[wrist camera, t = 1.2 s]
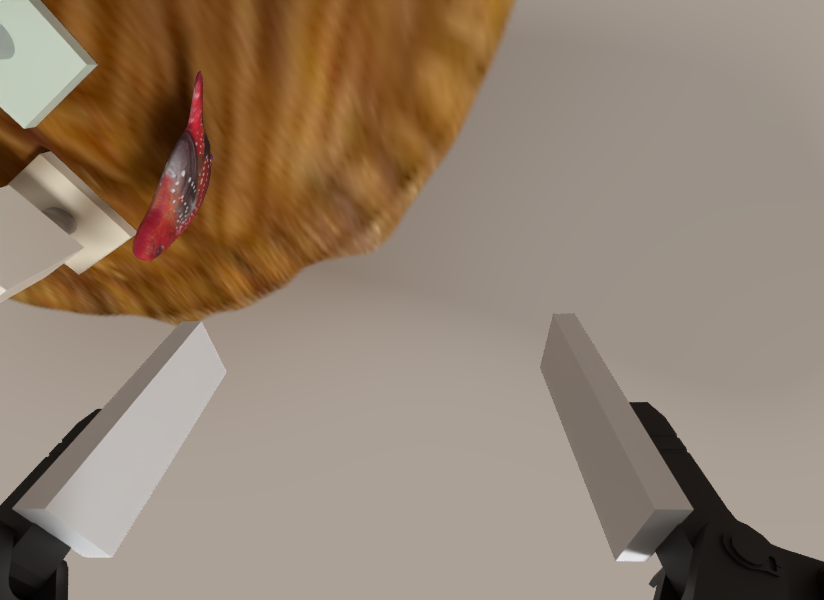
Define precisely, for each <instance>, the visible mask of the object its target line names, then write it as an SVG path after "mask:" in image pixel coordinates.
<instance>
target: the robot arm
mask: <svg viewBox="0 0 824 600" xmlns="http://www.w3.org/2000/svg"><path fill="white" fill-rule="evenodd" d="M540 368H541V371H542V374H543V376H544V379H545V381H546V383H547V386H548V389H549V391H550V394H551V397H552V399H553V402H554V404H555V407H556V409H557V412H558V415H559V417H560V420H561V422H562V425H563V427H564V430H565V432H566V435H567V438H568V440H569V443H570V445H571V448H572V451H573V453H574V456H575V458H576V461H577V463H578V466H579V468H580V471H581V473H582V476H583V479H584V481H585V484H586V486H587V489H588V491H589V494H590V497H591V499H592V502H593V504H594V507H595V509H596V512H597V515H598V517H599V520H600V522H601V525H602V528H603V530H604V533H605V535H606V538H607V540H608V543H609V545H610V548H611V551H612V553H613V556H614V558H615V561H647V560H648V559H649V558H650V557H651V556H652V555H653V554H654V553H655V552H656V554H657V556H658V558H659V560H660V562H661V564H662V566H663V568H662V569H661V570H660V571H659V572H658V573H657V574H656V575H655V576H654V577H653V578H652V580H651V581H650V583H649V585H651V586H652V587H655V586H656V585H657V587H656V591H655V595H654V599H653V600H824V562H823V561H820V560H816V559H814V558H810V557H807V556H804V555H801V554H798V553H795V552H791V551H788V550H785V549H782V548H780V547H777V546H774V545H772V544H770V542H769V541H768V540H767V539H766V538H765V537H764V536H763V535H761V534H760V533H758V532H757V531H755V530H754V529H753V528H751V527H750V526H748V525H746V524H744V523H741V522H739V521H738V520H737V519H735V517H734V516H733V515H732V514H731V512H730V511H729V510H728V509H727V507H726V506H725V504H724V503H723V501H722V500H721V498H720V497H719V496H718V494H717V493H716V491H715V490H714V488H713V487H712V485H711V484H710V482H709V481H708V479H707V478H706V477H705V475H704V474H703V472H702V471H701V469H700V468H699V466H698V465H697V464H696V462H695V460H694V459H693V458H692V456H691V455H690V453H688V452H687V449H686V447H685V446H684V445H683V443H682V442H681V440H680V439H679V438H677V434H676V433H675V431H674V430H673V428H672V427H671V425H670V424H669V422H668V421H667V419H666V418H665V417H664V416H663V415H662V414H661V413H659V412H658V411H657V410H656V409H655V408H653V407H652V406H651V405H650V404H649V403H648V402H628V401H627V399H626V397H625V396H624V394H623V392H622V391H621V389H620V387H619V386H618V384H617V382H616V381H615V379H614V377H613V376H612V374H611V373H610V371H609V369H608V368H607V366H606V364H605V363H604V361H603V359H602V358H601V356H600V354H599V353H598V351H597V349H596V348H595V346H594V344H593V343H592V341H591V340H590V338H589V336H588V335H587V333H586V331H585V330H584V328H583V326H582V325H581V323H580V321H579V320H578V318H577V317H576V315H575V314H574V313H572V314H553V317H552V321H551V325H550V329H549V333H548V338H547V342H546V346H545V350H544V354H543V358H542V362H541V366H540ZM225 374H226V370H225V368H224V366H223V364H222V362H221V360H220V358H219V356H218V354H217V352H216V350H215V348H214V346H213V344H212V342H211V340H210V338H209V336H208V334H207V332H206V330H205V328H204V326H203V324H202V322H201V321H185V322H181V323H180V324H179V325H178V326H177V327H176V328H175V330H174V331H173V332H172V333H171V334H170V335H169V336H168V337H167V338H166V339H165V340H164V342H163V343H162V344H161V345H160V346H159V347H158V348H157V349H156V350H155V351H154V353H153V354H152V355H151V356H150V357H149V358H148V359H147V360H146V361H145V363H144V364H143V365H142V366H141V367H140V368H139V369H138V370H137V371H136V372H135V374H134V375H133V376H132V377H131V378H130V379H129V380H128V381H127V383H125V385H124V386H123V387H122V388H121V389H120V390H119V391H118V392H117V393H116V394H115V396H114V397H113V398H112V399H111V400H110V401H109V402H108V403H107V404H106V405H105V407H104V408H103V409H97V410H95V411H94V412H92V413H91V414H90V415H88V416H87V417H85V418H84V419H83V420H81V421H80V422H79V423H77V424H76V425H75V426H74V428H73V429H72V430H71V431H70V432H69V433H68V434H67V435H66V436H65V437H64V438H63V439H62V443H59V444H58V445H57V446H56V447H55V448H54V449H53V450H52V451H51V452H50V453H49V456H48V457H45V459H43V461H42V462H41V463H40V464H39V465H38V466H37V467H36V468H35V469H34V470H33V471H32V472H31V473H30V474H29V475H28V477H27V478H26V479H25V480H24V481H23V482H22V483H21V484H20V485H19V486H18V487H17V488H16V489H15V491H13V493H12V494H11V495H10V496H9V497H8V498H7V499H6V500H5V501H4V502H3V503H2V504H1V505H0V600H68V566H67V562H66V561H64V560H63V559H64V558H65V556H66V555H67V553H68V552H69V551H70V549H73V550H74V551H76V552H77V553H79V554H80V555H82V556H83V557H94V558H95V557H97V558H98V557H99V558H107V557H108V558H112V557H113V556H114V554H115V552H116V551H117V549H118V547H119V545H120V544H121V542H122V541H123V539H124V538H125V536H126V534H127V533H128V531H129V530H130V528H131V526H132V525H133V523H134V521H135V520H136V518H137V517H138V515H139V513H140V512H141V510H142V509H143V507H144V505H145V503H146V502H147V500H148V499H149V497H150V496H151V494H152V492H153V491H154V489H155V487H156V486H157V484H158V483H159V481H160V479H161V478H162V476H163V474H164V473H165V471H166V470H167V468H168V466H169V465H170V463H171V462H172V460H173V458H174V457H175V455H176V453H177V452H178V450H179V449H180V447H181V445H182V444H183V442H184V440H185V439H186V437H187V436H188V434H189V432H190V431H191V429H192V427H193V426H194V424H195V423H196V421H197V419H198V418H199V416H200V415H201V413H202V411H203V409H204V408H205V406H206V405H207V403H208V402H209V400H210V398H211V396H212V395H213V393H214V392H215V390H216V389H217V387H218V385H219V384H220V382H221V380H222V379H223V377H224V376H225Z"/></svg>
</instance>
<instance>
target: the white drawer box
mask: <svg viewBox="0 0 824 600" xmlns="http://www.w3.org/2000/svg"><path fill="white" fill-rule="evenodd" d="M83 248H84V247H83V246H82V245H81V244H79V243H78V242H77V241H76V240H75V239H73V238H72V237H71V236H70V235H69V234H67V233H66V232H65V231H64V230H63V229H61V228H60V227H59V226H58V225H57V224H55V223H54V222H53V221H52V220H51V219H49V218H48V217H47V216H46V215H45V214H43V213H42V212H41V211H40V210H39V209H37V208H36V207H35V206H34V205H33V204H31V203H30V202H29V201H28V200H27V199H25V198H24V197H23V196H22V195H21V194H19V193H18V192H17V191H16V190H15V189H13V188H12V187H11V186H10V185H8V186H5V187H1V188H0V303H1V302H3V301H4V300H6V299H8V298H10V297H11V296H13V295H15V294H17V293H18V292H20V291H22V290H24V289H25V288H27V287H29V286H31V285H32V284H34V283H36V282H38V281H39V280H41V279H43V278H45V277H46V276H47V275H49V274H50V273H51V272H53V271H54V270H55V269H57V268H58V267H59V266H61V265H62V264H63V263H65V262H66V261H67V260H69V259H70V258H71V257H73V256H74V255H75V254H77V253H78V252H79V251H81V250H82V249H83Z"/></svg>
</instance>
